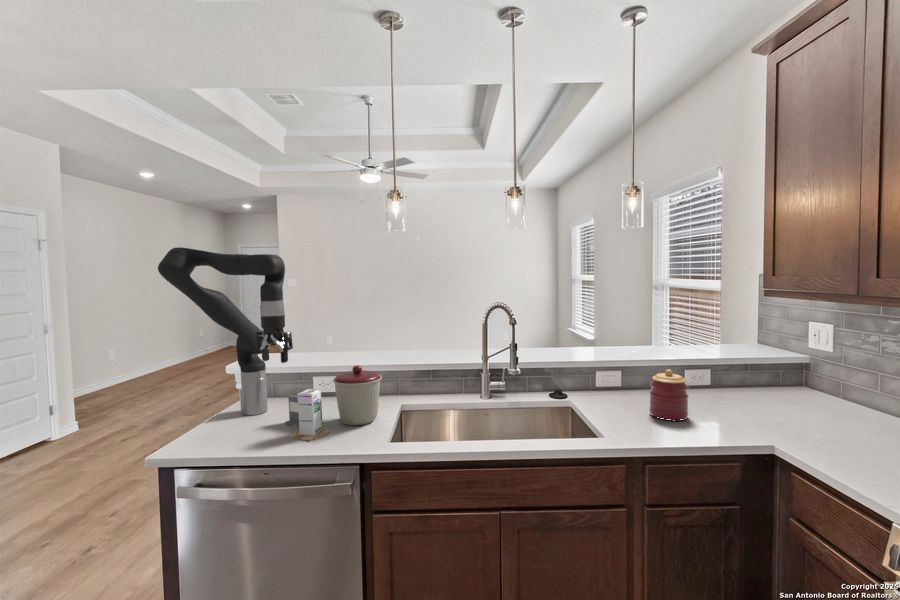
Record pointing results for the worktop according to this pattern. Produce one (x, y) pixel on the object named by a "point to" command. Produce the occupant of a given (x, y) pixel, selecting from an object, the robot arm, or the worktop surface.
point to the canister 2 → (669, 396)
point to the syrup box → (310, 412)
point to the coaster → (308, 437)
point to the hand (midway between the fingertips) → (275, 361)
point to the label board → (293, 411)
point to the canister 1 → (357, 395)
